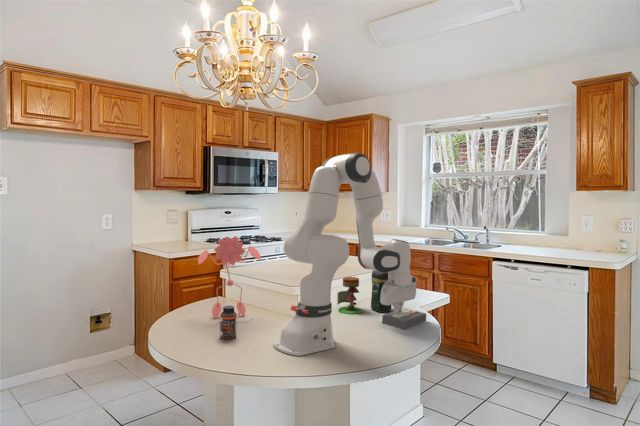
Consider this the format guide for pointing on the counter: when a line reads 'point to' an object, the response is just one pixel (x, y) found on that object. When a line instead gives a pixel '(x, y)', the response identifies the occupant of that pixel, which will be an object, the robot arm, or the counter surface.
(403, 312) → the key mid
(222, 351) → the counter surface
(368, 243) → the robot arm
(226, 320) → the supplement bottle
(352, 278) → the red green toy sculpture
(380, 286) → the coffee jar
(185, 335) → the counter surface
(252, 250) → the figurine
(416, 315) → the keypad
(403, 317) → the key left
